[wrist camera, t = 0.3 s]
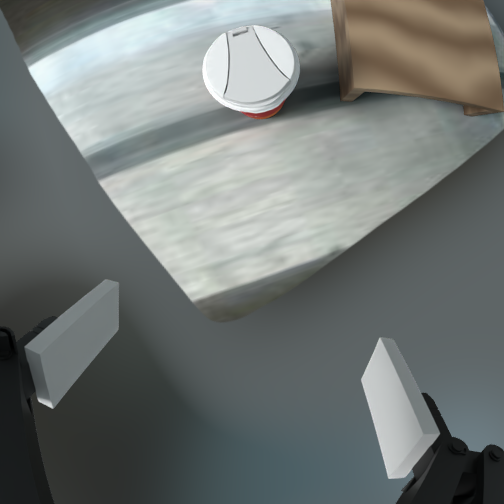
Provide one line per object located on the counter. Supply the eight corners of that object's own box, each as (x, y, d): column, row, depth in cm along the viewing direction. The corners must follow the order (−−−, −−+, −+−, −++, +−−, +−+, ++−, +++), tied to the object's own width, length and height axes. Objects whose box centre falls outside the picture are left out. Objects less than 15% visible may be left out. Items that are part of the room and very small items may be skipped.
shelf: (329, -10, 32) (337, -39, 24) (456, 13, 30) (481, -6, 22) (340, 101, 36) (354, 87, 28) (472, 116, 34) (504, 111, 27)
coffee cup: (220, 76, 37) (189, 35, 22) (283, 60, 35) (285, 10, 21) (236, 136, 39) (212, 123, 24) (301, 120, 37) (313, 98, 23)
